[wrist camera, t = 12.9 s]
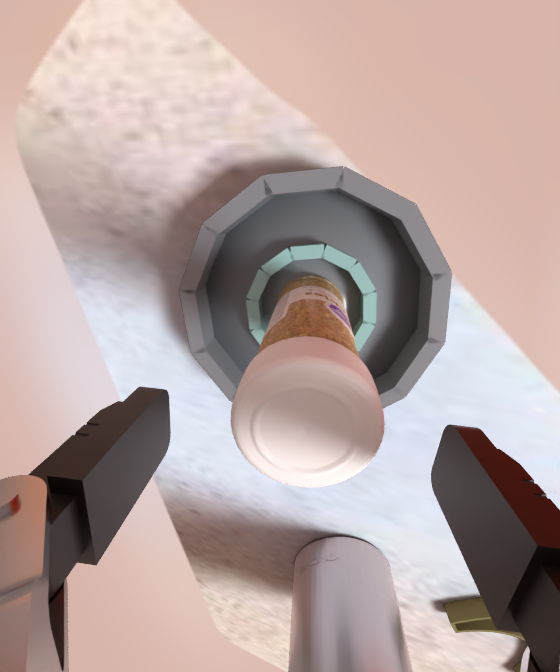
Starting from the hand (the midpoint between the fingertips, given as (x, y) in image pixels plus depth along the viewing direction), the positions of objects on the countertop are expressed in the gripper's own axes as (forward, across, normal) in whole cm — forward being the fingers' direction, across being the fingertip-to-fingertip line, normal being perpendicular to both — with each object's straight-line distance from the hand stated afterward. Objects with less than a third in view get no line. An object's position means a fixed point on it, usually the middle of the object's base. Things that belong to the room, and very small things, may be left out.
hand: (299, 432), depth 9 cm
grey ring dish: (+14, 0, 0) cm, 14 cm away
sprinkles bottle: (+14, 0, 0) cm, 14 cm away
